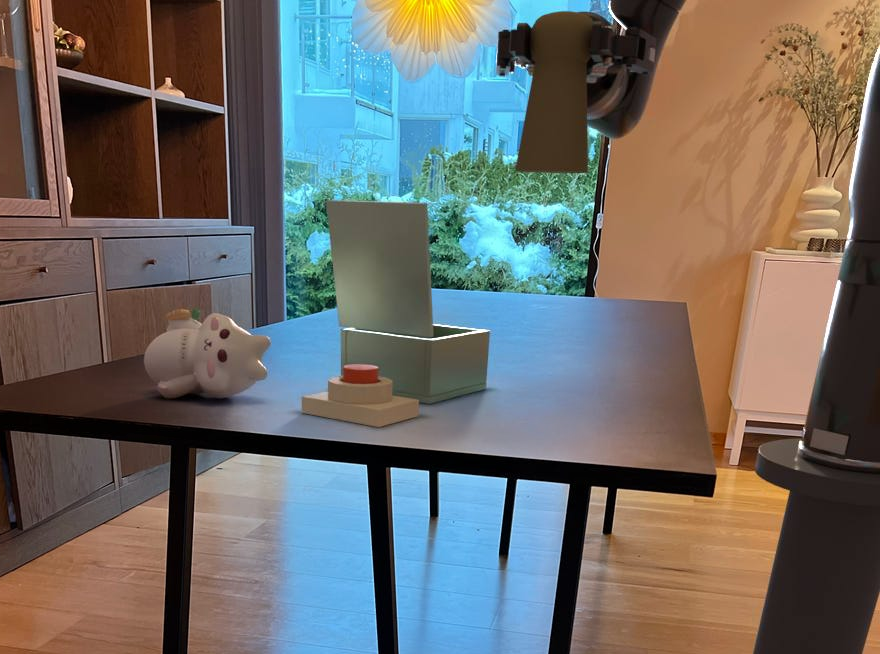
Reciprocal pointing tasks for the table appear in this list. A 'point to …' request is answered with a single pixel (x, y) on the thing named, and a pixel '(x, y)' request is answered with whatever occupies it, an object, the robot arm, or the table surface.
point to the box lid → (381, 265)
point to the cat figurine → (205, 356)
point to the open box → (422, 360)
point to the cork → (557, 96)
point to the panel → (361, 403)
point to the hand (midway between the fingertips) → (558, 38)
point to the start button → (360, 374)
